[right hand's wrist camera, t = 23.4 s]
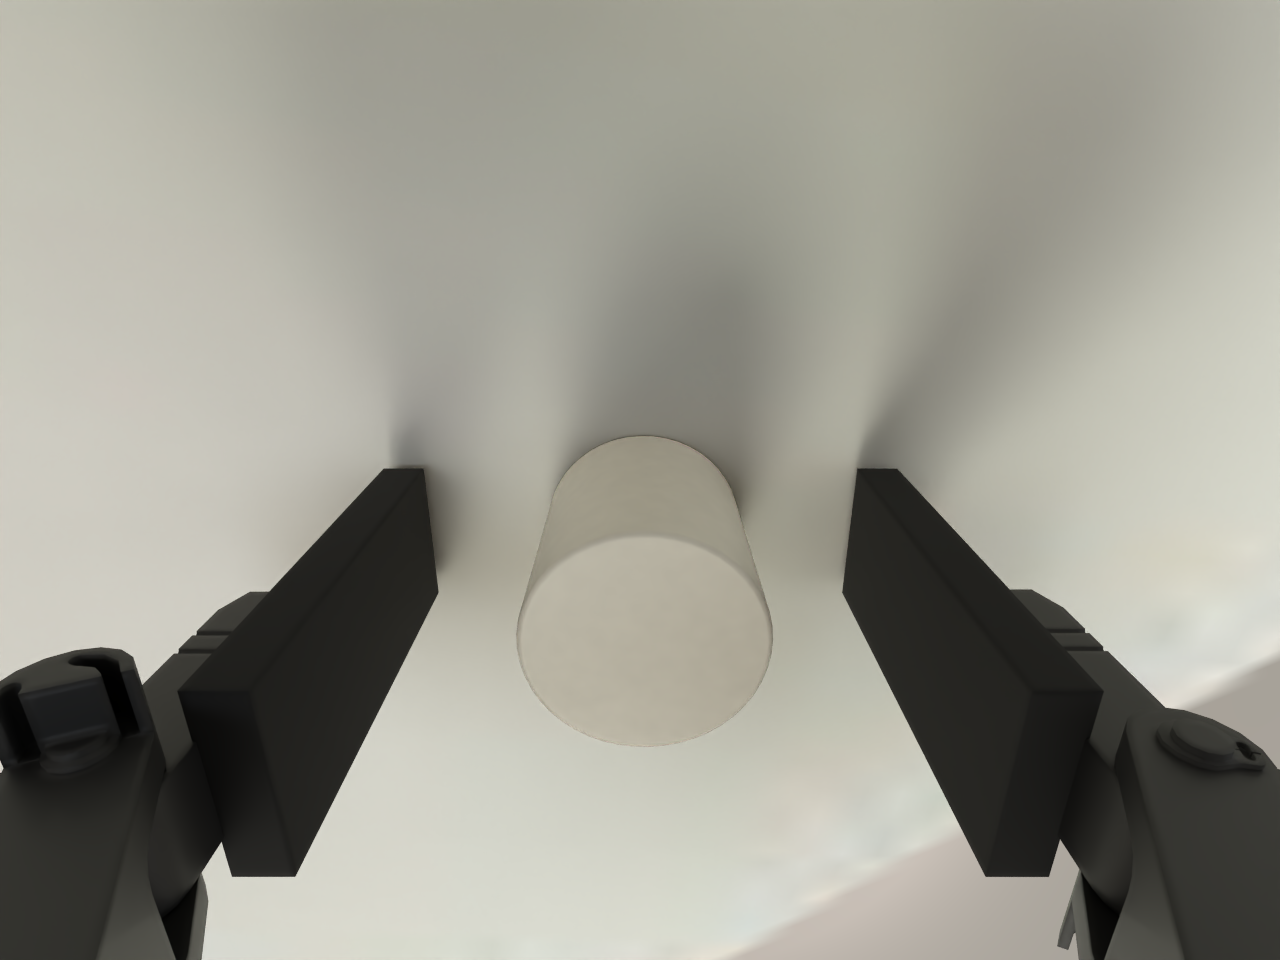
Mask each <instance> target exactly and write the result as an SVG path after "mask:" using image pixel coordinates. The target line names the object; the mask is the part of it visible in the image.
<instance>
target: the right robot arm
mask: <svg viewBox="0 0 1280 960" xmlns="http://www.w3.org/2000/svg"><path fill="white" fill-rule="evenodd" d="M842 593H843V595H844V597H845V599H846V601H847V603H848V605H849V607H850V609H851V611H852V613H853V615H854V617H855V619H856V621H857V623H858V625H859V627H860V629H861V631H862V633H863V635H864V637H865V639H866V641H867V643H868V644H869V646H870V648H871V650H872V652H873V654H874V656H875V658H876V660H877V662H878V664H879V666H880V668H881V670H882V672H883V674H884V676H885V678H886V680H887V682H888V684H889V686H890V688H891V690H892V692H893V694H894V696H895V698H896V700H897V702H898V704H899V706H900V708H901V710H902V712H903V714H904V716H905V718H906V720H907V722H908V724H909V726H910V728H911V730H912V732H913V734H914V736H915V738H916V740H917V742H918V744H919V746H920V748H921V750H922V752H923V754H924V755H925V757H926V759H927V761H928V763H929V765H930V767H931V769H932V771H933V773H934V775H935V777H936V779H937V781H938V783H939V785H940V787H941V789H942V791H943V793H944V795H945V797H946V799H947V801H948V803H949V805H950V807H951V809H952V811H953V813H954V815H955V817H956V819H957V821H958V823H959V825H960V827H961V829H962V831H963V833H964V835H965V837H966V839H967V841H968V843H969V845H970V847H971V849H972V851H973V853H974V854H975V857H976V858H977V861H978V862H979V864H980V866H981V868H982V870H983V872H984V874H985V876H986V877H1049V875H1050V871H1051V868H1052V864H1053V861H1054V857H1055V854H1056V851H1057V848H1058V844H1059V841H1060V840H1061V841H1062V843H1063V844H1064V846H1065V847H1066V849H1067V850H1068V852H1069V853H1070V855H1071V856H1072V858H1073V860H1074V861H1075V862H1076V864H1077V866H1078V867H1079V873H1078V876H1077V879H1076V882H1075V885H1074V888H1073V892H1072V895H1071V898H1070V901H1069V904H1068V907H1067V911H1066V914H1065V917H1064V920H1063V923H1062V926H1061V929H1060V934H1059V940H1058V945H1057V946H1058V947H1061V948H1064V949H1067V950H1068V949H1069V946H1070V943H1071V940H1072V937H1073V934H1074V933H1076V940H1077V948H1078V956H1079V960H1280V770H1279V769H1277V767H1276V766H1275V765H1274V764H1273V762H1272V761H1271V760H1270V758H1269V757H1268V756H1267V755H1266V753H1265V752H1264V751H1263V750H1262V749H1261V748H1259V747H1258V746H1257V745H1255V744H1254V743H1253V742H1251V741H1250V740H1249V739H1247V738H1246V737H1245V736H1243V735H1242V734H1241V733H1239V732H1237V731H1235V730H1233V729H1231V728H1229V727H1227V726H1225V725H1223V724H1221V723H1219V722H1217V721H1215V720H1213V719H1210V718H1207V717H1204V716H1201V715H1198V714H1194V713H1191V712H1188V711H1185V710H1178V709H1171V708H1165V707H1164V706H1163V705H1162V704H1161V703H1160V702H1159V701H1158V700H1157V699H1156V698H1155V697H1154V696H1153V695H1152V694H1151V693H1150V692H1149V691H1148V690H1147V689H1146V688H1145V687H1144V686H1143V685H1142V684H1141V683H1140V682H1139V681H1138V680H1137V679H1136V678H1135V677H1134V676H1133V675H1131V674H1130V673H1129V672H1128V671H1127V670H1126V669H1125V668H1124V667H1123V666H1122V665H1121V664H1120V663H1119V662H1118V661H1117V660H1116V659H1115V658H1114V657H1113V656H1112V655H1111V654H1110V653H1109V652H1108V651H1103V646H1102V645H1101V644H1100V643H1099V642H1098V641H1097V640H1096V639H1095V638H1094V637H1093V636H1092V635H1091V634H1090V633H1085V628H1084V627H1083V626H1082V625H1080V624H1079V623H1078V622H1077V621H1076V620H1075V619H1074V618H1073V617H1072V616H1071V615H1070V614H1069V613H1068V612H1067V611H1066V610H1065V609H1064V608H1063V607H1061V606H1059V605H1058V604H1056V603H1054V602H1052V601H1051V600H1049V599H1047V598H1045V597H1044V596H1042V595H1040V594H1038V593H1037V592H1035V591H1033V590H1010V589H1009V588H1008V587H1007V586H1006V585H1005V584H1004V583H1003V582H1002V581H1001V580H1000V579H999V578H998V577H997V576H996V574H995V573H994V572H993V571H992V570H991V569H990V568H989V567H988V566H987V565H986V564H985V563H984V562H983V560H982V559H981V558H980V557H979V556H978V555H977V554H976V553H975V552H974V551H973V550H972V549H971V548H970V547H969V545H968V544H967V543H966V542H965V541H964V540H963V539H962V538H961V537H960V536H959V535H958V534H957V533H956V531H955V530H954V529H953V528H952V527H951V526H950V525H949V524H948V523H947V522H946V521H945V520H944V519H943V518H942V516H941V515H940V514H939V513H938V512H937V511H936V510H935V509H934V508H933V507H932V506H931V505H930V504H929V502H928V501H927V500H926V499H925V498H924V497H923V496H922V495H921V494H920V493H919V492H918V491H917V490H916V489H915V487H914V486H913V485H912V484H911V483H910V482H909V481H908V480H907V479H906V478H905V477H904V476H903V475H902V473H901V472H900V471H899V470H898V469H857V476H856V485H855V493H854V501H853V509H852V517H851V526H850V534H849V542H848V550H847V558H846V567H845V575H844V583H843V591H842ZM437 595H438V584H437V576H436V568H435V560H434V551H433V543H432V535H431V527H430V518H429V510H428V502H427V494H426V485H425V477H424V469H383V470H382V471H381V472H380V473H379V474H378V476H377V477H376V478H375V479H374V480H373V481H372V482H371V483H370V484H369V485H368V486H367V487H366V488H365V489H364V491H363V492H362V493H361V494H360V495H359V496H358V497H357V498H356V499H355V500H354V501H353V502H352V503H351V505H350V506H349V507H348V508H347V509H346V510H345V511H344V512H343V513H342V514H341V515H340V516H339V517H338V519H337V520H336V521H335V522H334V523H333V524H332V525H331V526H330V527H329V528H328V529H327V530H326V531H325V532H324V534H323V535H322V536H321V537H320V538H319V539H318V540H317V541H316V542H315V543H314V544H313V545H312V546H311V548H310V549H309V550H308V551H307V552H306V553H305V554H304V555H303V556H302V557H301V558H300V559H299V560H298V561H297V563H296V564H295V565H294V566H293V567H292V568H291V569H290V570H289V571H288V572H287V573H286V574H285V575H284V577H283V578H282V579H281V580H280V581H279V582H278V583H277V584H276V585H275V586H274V587H273V588H272V589H271V591H270V592H249V593H247V594H245V595H244V596H242V597H240V598H238V599H237V600H235V601H233V602H231V603H230V604H228V605H226V606H224V607H223V608H221V609H219V610H218V611H217V612H216V613H215V614H214V615H213V616H212V617H211V618H210V619H209V620H208V621H207V622H206V623H205V624H204V625H203V626H202V627H201V628H200V629H199V630H198V631H197V635H196V636H191V637H190V638H189V639H188V640H187V641H186V642H185V643H184V644H183V645H182V646H181V647H180V648H179V652H178V654H173V655H172V656H171V657H170V658H169V659H168V660H167V661H166V662H165V663H164V664H163V665H162V666H161V667H160V668H159V669H158V670H157V671H156V672H155V673H154V674H153V675H152V676H151V677H150V678H149V679H148V680H147V681H146V682H145V683H144V684H143V685H142V683H141V680H140V677H139V674H138V671H137V668H136V665H135V661H134V658H133V657H132V656H131V655H129V654H128V653H126V652H124V651H123V650H120V649H111V648H102V647H100V648H91V649H83V650H75V651H71V652H67V653H64V654H60V655H57V656H53V657H49V658H46V659H43V660H41V661H39V662H36V663H34V664H32V665H29V666H27V667H25V668H22V669H20V670H18V671H16V672H14V673H12V674H11V675H9V676H8V677H6V678H5V679H3V680H1V681H0V761H1V763H2V766H3V768H4V769H3V771H2V773H0V960H201V959H202V951H203V942H204V933H205V925H206V916H207V908H208V896H207V891H206V885H205V882H204V879H203V876H202V871H203V869H204V868H205V866H206V865H207V863H208V862H209V860H210V859H211V857H212V855H213V854H214V852H215V851H216V849H217V848H218V846H219V845H220V843H221V842H222V844H223V848H224V851H225V854H226V858H227V861H228V865H229V868H230V871H231V875H232V877H295V876H296V874H297V872H298V870H299V868H300V866H301V864H302V862H303V860H304V858H305V856H306V854H307V852H308V850H309V848H310V846H311V844H312V842H313V840H314V838H315V836H316V834H317V832H318V831H319V829H320V827H321V825H322V823H323V821H324V819H325V817H326V815H327V813H328V811H329V809H330V807H331V805H332V803H333V801H334V799H335V797H336V795H337V793H338V791H339V789H340V787H341V785H342V783H343V781H344V779H345V777H346V775H347V773H348V771H349V769H350V767H351V765H352V763H353V761H354V759H355V757H356V755H357V753H358V751H359V749H360V747H361V745H362V743H363V741H364V739H365V737H366V735H367V733H368V731H369V729H370V727H371V725H372V723H373V721H374V719H375V718H376V716H377V714H378V712H379V710H380V708H381V706H382V704H383V702H384V700H385V698H386V696H387V694H388V692H389V690H390V688H391V686H392V684H393V682H394V680H395V678H396V676H397V674H398V672H399V670H400V668H401V666H402V664H403V662H404V660H405V658H406V656H407V654H408V652H409V650H410V648H411V646H412V644H413V642H414V640H415V638H416V636H417V634H418V632H419V630H420V628H421V626H422V624H423V622H424V620H425V618H426V616H427V614H428V612H429V610H430V608H431V606H432V605H433V603H434V601H435V599H436V597H437Z"/></svg>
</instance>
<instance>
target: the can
mask: <svg viewBox="0 0 1280 960" xmlns="http://www.w3.org/2000/svg"><path fill="white" fill-rule="evenodd" d="M516 635H517V650H518V655H519V660H520V664H521V667H522V669H523V672H524V675H525V677H526V679H527V681H528V683H529V685H530V687H531V688H532V690H533V692H534V693H535V694H536V696H537V697H538V699H539V700H540V701H541V702H542V703H543V704H544V706H545V707H546V708H547V709H548V710H549V711H550V712H551V713H552V714H554V715H555V716H556V717H557V718H559V719H560V720H561V721H562V722H564V723H566V724H567V725H569V726H570V727H572V728H574V729H575V730H577V731H579V732H581V733H584V734H586V735H588V736H590V737H593V738H596V739H599V740H602V741H605V742H610V743H614V744H619V745H626V746H640V747H651V746H664V745H669V744H675V743H680V742H683V741H687V740H690V739H693V738H696V737H698V736H701V735H703V734H705V733H708V732H710V731H712V730H713V729H715V728H717V727H719V726H720V725H722V724H723V723H725V722H726V721H728V720H729V719H730V718H732V717H733V716H734V715H735V714H736V713H737V712H739V711H740V710H741V709H742V708H743V707H744V706H745V705H746V703H747V702H748V701H749V700H750V699H751V697H752V696H753V695H754V693H755V692H756V690H757V688H758V687H759V685H760V684H761V682H762V679H763V677H764V675H765V673H766V670H767V668H768V664H769V661H770V657H771V652H772V644H773V630H772V622H771V617H770V612H769V609H768V605H767V602H766V599H765V596H764V592H763V589H762V586H761V583H760V579H759V576H758V573H757V570H756V566H755V563H754V560H753V557H752V553H751V550H750V547H749V544H748V540H747V537H746V534H745V531H744V527H743V524H742V521H741V518H740V514H739V511H738V508H737V505H736V501H735V498H734V496H733V493H732V490H731V488H730V486H729V484H728V482H727V481H726V479H725V477H724V476H723V475H722V473H721V472H720V471H719V469H718V468H717V467H716V466H715V465H714V464H713V463H712V462H711V461H710V460H709V459H707V458H706V457H705V456H704V455H702V454H701V453H700V452H698V451H696V450H694V449H693V448H691V447H689V446H687V445H685V444H682V443H680V442H677V441H674V440H670V439H667V438H661V437H654V436H634V437H626V438H621V439H617V440H613V441H610V442H608V443H605V444H602V445H600V446H598V447H596V448H594V449H592V450H591V451H589V452H588V453H586V454H585V455H584V456H582V457H581V458H580V459H579V460H577V461H576V462H575V463H574V464H573V465H572V466H571V467H570V468H569V470H568V471H567V472H566V473H565V474H564V476H563V478H562V479H561V481H560V482H559V484H558V486H557V488H556V491H555V493H554V495H553V498H552V502H551V506H550V509H549V513H548V516H547V520H546V523H545V527H544V530H543V534H542V537H541V541H540V544H539V548H538V551H537V555H536V558H535V562H534V565H533V569H532V572H531V576H530V579H529V583H528V586H527V590H526V593H525V597H524V600H523V604H522V608H521V611H520V615H519V619H518V625H517V634H516Z"/></svg>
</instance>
